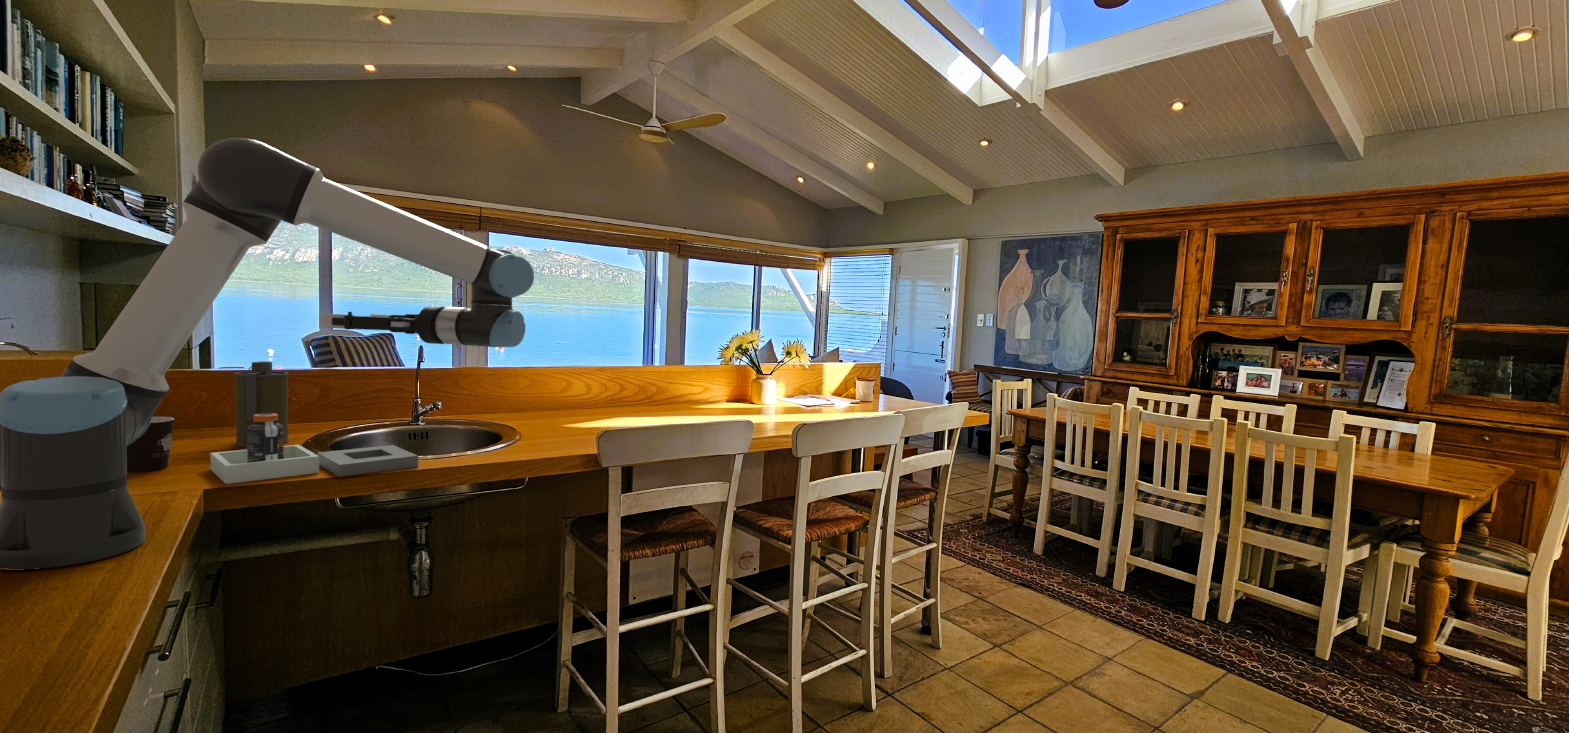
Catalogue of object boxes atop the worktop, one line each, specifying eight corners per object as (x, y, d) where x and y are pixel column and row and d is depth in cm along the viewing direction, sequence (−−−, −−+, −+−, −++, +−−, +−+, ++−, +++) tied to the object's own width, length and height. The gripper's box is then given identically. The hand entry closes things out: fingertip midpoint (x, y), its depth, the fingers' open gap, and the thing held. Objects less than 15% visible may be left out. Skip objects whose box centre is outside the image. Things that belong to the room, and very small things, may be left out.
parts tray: (319, 472, 137) (319, 456, 137) (226, 484, 126) (225, 466, 126) (298, 460, 147) (298, 444, 147) (210, 469, 136) (210, 452, 135)
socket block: (418, 466, 146) (418, 455, 146) (339, 476, 135) (339, 464, 135) (392, 455, 156) (392, 444, 156) (317, 463, 145) (317, 452, 144)
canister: (247, 439, 166) (246, 359, 164) (296, 438, 169) (295, 361, 168) (225, 447, 156) (224, 363, 154) (277, 447, 159) (277, 364, 157)
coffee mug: (138, 475, 129) (137, 424, 128) (104, 471, 130) (102, 421, 130) (201, 463, 140) (201, 416, 139) (169, 459, 142) (168, 413, 141)
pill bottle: (284, 469, 136) (284, 415, 135) (247, 472, 132) (247, 416, 131) (282, 463, 141) (282, 411, 140) (247, 466, 137) (246, 412, 136)
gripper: (403, 346, 121) (296, 340, 123) (479, 342, 145) (389, 337, 147) (404, 305, 120) (296, 299, 122) (480, 308, 145) (389, 303, 147)
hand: (347, 320), depth 135 cm, fingers open, 13 cm apart
